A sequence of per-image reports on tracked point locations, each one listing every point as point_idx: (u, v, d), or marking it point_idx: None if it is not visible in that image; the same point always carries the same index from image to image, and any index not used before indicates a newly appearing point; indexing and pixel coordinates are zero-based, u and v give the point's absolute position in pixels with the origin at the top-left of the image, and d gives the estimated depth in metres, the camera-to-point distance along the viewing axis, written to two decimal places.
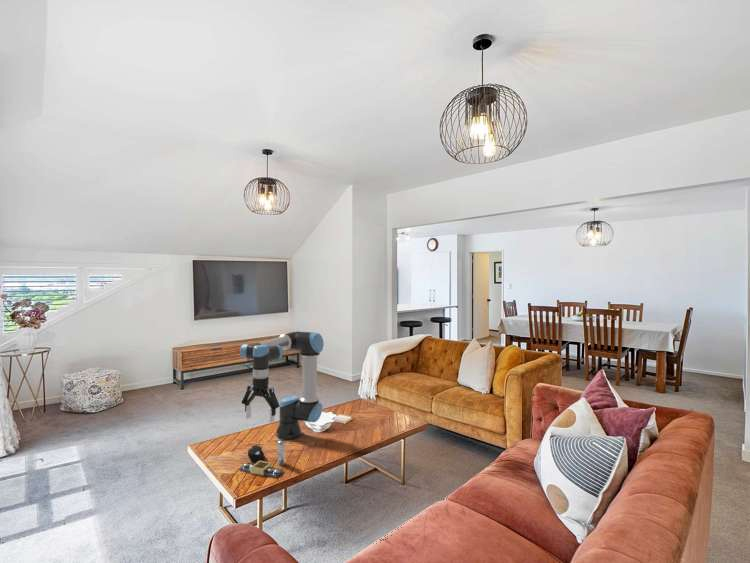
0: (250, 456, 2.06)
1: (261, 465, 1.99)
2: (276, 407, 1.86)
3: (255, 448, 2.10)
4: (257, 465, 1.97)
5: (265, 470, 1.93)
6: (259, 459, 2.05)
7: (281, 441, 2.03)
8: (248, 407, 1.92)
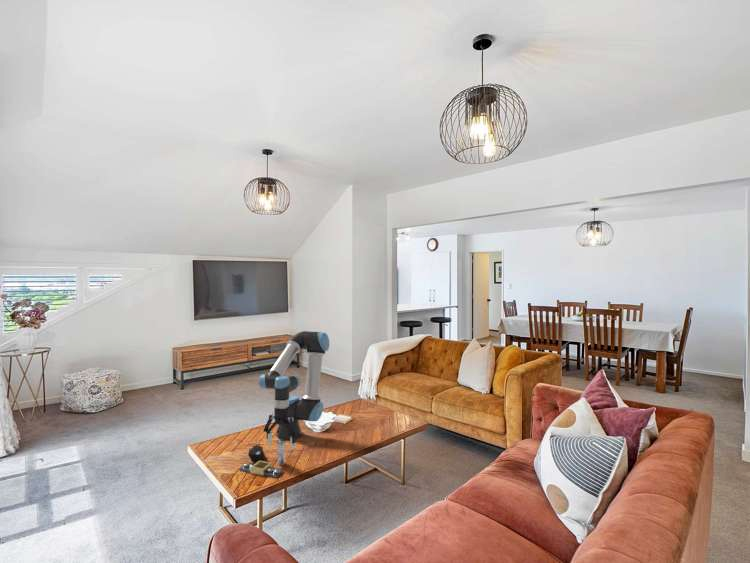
0: (251, 456, 2.06)
1: (261, 465, 1.99)
2: (296, 435, 1.99)
3: (256, 448, 2.10)
4: (257, 465, 1.97)
5: (265, 470, 1.93)
6: (259, 459, 2.05)
7: (281, 441, 2.03)
8: (269, 435, 2.05)
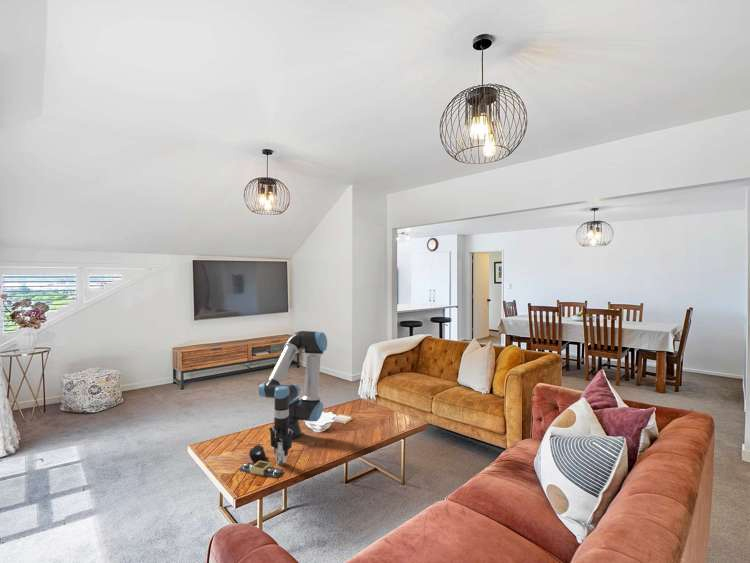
0: (251, 456, 2.06)
1: (261, 465, 1.99)
2: (288, 449, 2.01)
3: (257, 448, 2.10)
4: (257, 465, 1.97)
5: (265, 470, 1.93)
6: (260, 459, 2.05)
7: (281, 441, 2.03)
8: (277, 450, 2.04)
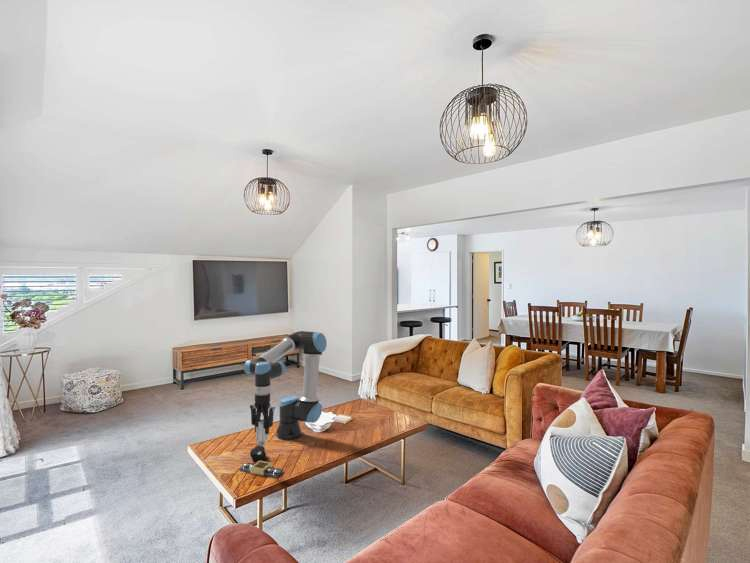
0: (252, 456, 2.06)
1: (261, 465, 1.99)
2: (269, 426, 1.93)
3: (258, 448, 2.10)
4: (257, 465, 1.97)
5: (265, 470, 1.93)
6: (260, 459, 2.05)
7: (262, 421, 1.95)
8: None
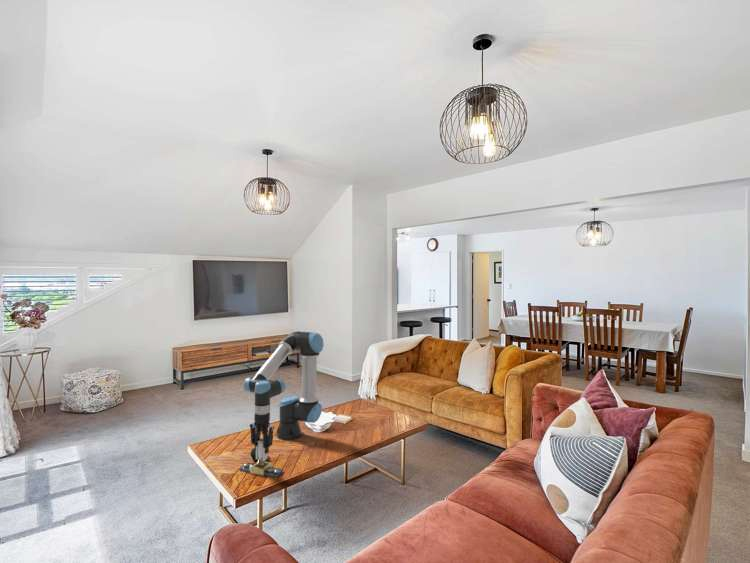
0: (252, 456, 2.06)
1: (261, 465, 1.99)
2: (269, 446, 1.93)
3: None
4: (257, 465, 1.97)
5: (265, 470, 1.93)
6: None
7: (261, 440, 1.96)
8: None
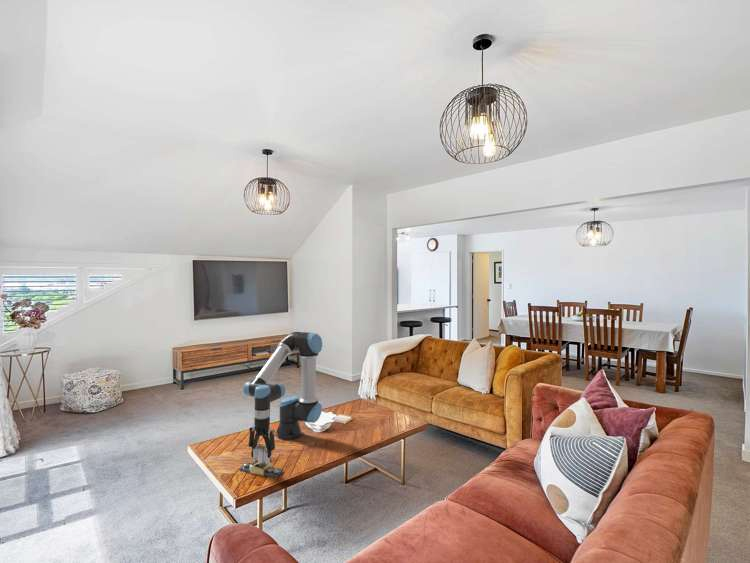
0: None
1: None
2: (271, 450, 1.93)
3: None
4: (257, 465, 1.97)
5: (265, 470, 1.93)
6: None
7: (261, 447, 1.96)
8: (255, 450, 1.97)
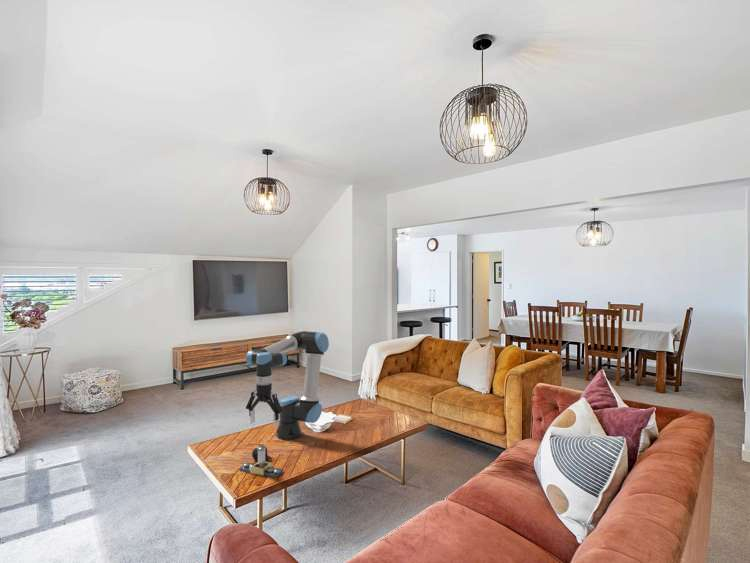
0: (254, 456, 2.06)
1: None
2: (279, 412, 1.94)
3: None
4: (257, 465, 1.97)
5: (265, 470, 1.93)
6: None
7: (261, 447, 1.96)
8: (252, 412, 2.00)
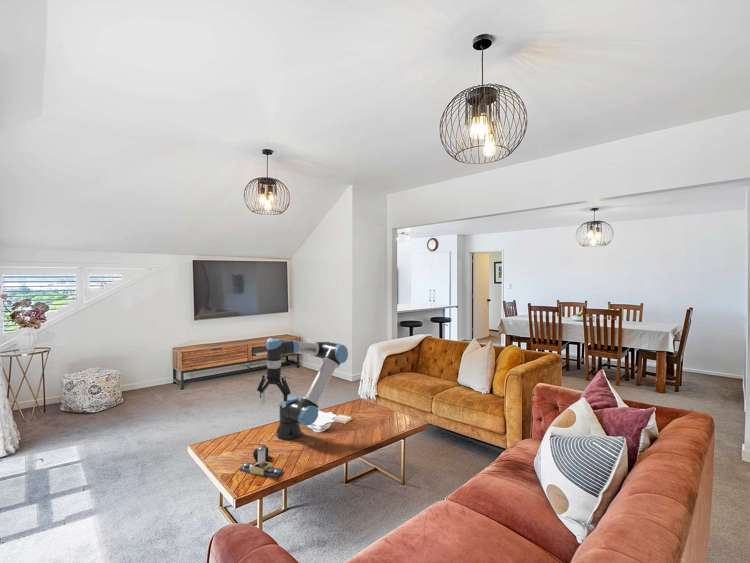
0: (255, 456, 2.06)
1: None
2: (288, 393, 2.11)
3: None
4: (257, 465, 1.97)
5: (265, 470, 1.93)
6: None
7: (261, 447, 1.96)
8: (263, 394, 2.17)
